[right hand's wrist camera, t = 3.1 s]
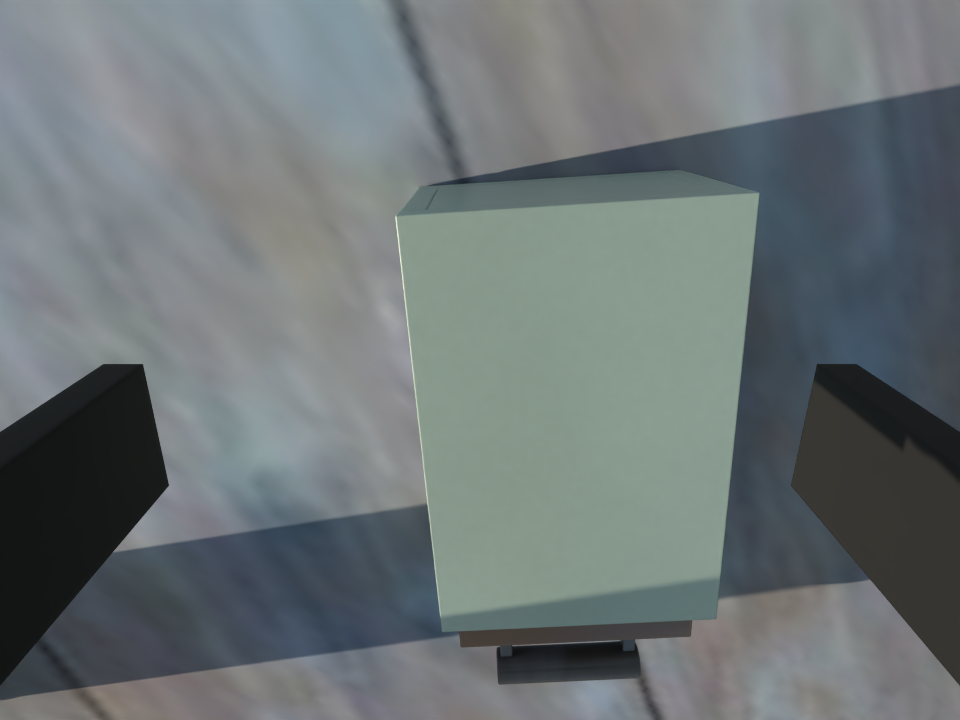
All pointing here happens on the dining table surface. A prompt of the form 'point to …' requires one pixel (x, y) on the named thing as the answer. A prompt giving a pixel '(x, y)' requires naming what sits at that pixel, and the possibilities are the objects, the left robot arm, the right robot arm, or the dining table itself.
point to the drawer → (571, 650)
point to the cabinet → (577, 392)
